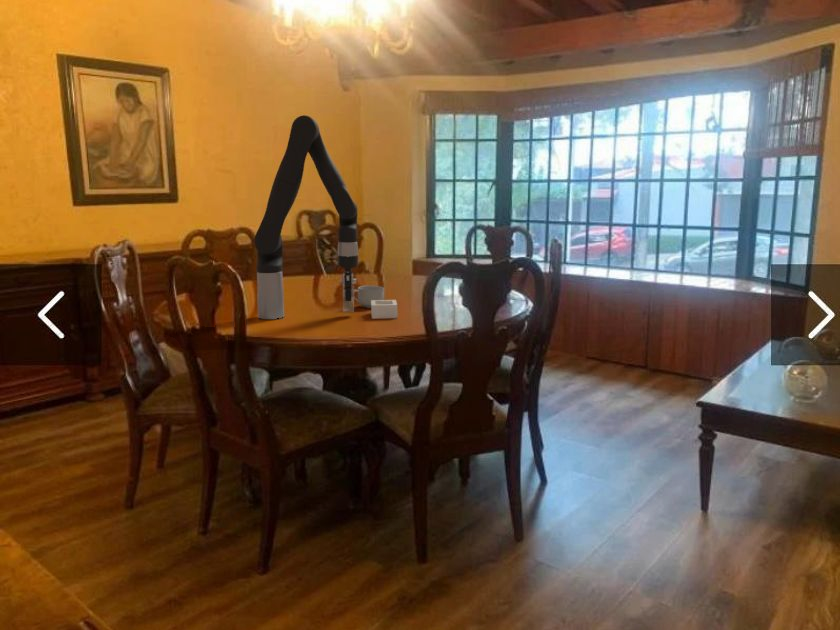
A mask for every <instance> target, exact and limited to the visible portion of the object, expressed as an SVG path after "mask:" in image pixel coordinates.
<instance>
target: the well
mask: <svg viewBox="0 0 840 630" xmlns="http://www.w3.org/2000/svg"><path fill="white" fill-rule="evenodd" d="M370 310H371V311H370V313H371V319H373V320H374V319H399V318H398V317H399V316H398V303H397V300H396V299H384V300H371V308H370Z"/></svg>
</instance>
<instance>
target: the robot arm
mask: <svg viewBox="0 0 840 630" xmlns="http://www.w3.org/2000/svg"><path fill="white" fill-rule="evenodd" d="M308 154H309V156H310V157H311V159H312V162H313V164H314V166H315V168H316V171H317V175H318V177H319V179H320V180H321V182H322V184H323V186H324V188H325V190H326V192H327V194H328V195H329V197H330V198H331V200H332V203H333V205H334V209H336V212H337V214H338V222H339V223H338V226H339V227H338V230H337V236H338V237H337V242H338V243H337V267H338V268H342V269H344V271H342V279H343V283H344V285H345V288H344V290H345V300H346V301H351V290H352V288H351V285H352V284H353V279H354V271H352V269H353V268H358V267H359V246H358V245H359V244H358V229H357V228H358V227H357V226H358V205H357V204H356V201H354V200H353V198H352V197H351V194H350V193H349V191H348V189H347V185H346V183H345V182H344V181H345V180H344V179H343V177H342V175H341V174H340V172H339V170H338V168H337V166H336V165H335V163H334V161H333V160H332V158H331V156H330V154H329V152H328V150H327V148H326V146H325V143H324V141H323V138H322V135H321V132H320V127H319V124H318V122H317V121H316V120H315V119H314V118H313V117H311V116H309V115H306V114H305V115H299V116H297V117H296V118H295V119H294V120H293V122H292V124H291V129H290V132H289V138H288V142H287V146H286V149H285V152H284V155H283V157H282V160H281V161H280V164H279V166H278V170H277V171H276V174H275V177H274V180H273V182H272V186H271V190H270V193H269V197H268V200H267V205H266V209H265V212H264V215H263V217H262V220H261V222H260V225H259V226H258V229H257V231H256V233H255V235H254V237H253V243H254V244H253V245H254V247H255V250H257V262H256V279H257V281H256V283H257V292H256V293H257V294H256V296H257V297H256V301H257V304H256V305H257V319H258V318H261V319H260V320H278V319H277V318H279V319H283V318H284V317H285V301H284V300H285V299H284V280H283V279H284V278H283V277H284V276H283V262H284V259H283V258H284V257H283V256H284V255H283V254H284V253H283V238H282V229H283V226H284V223H285V221H286V218H287V217H288V214H289V213H290V211H291V209H292V207H293V205H294V203H295V202H296V200H297V199H296V198H297V196H298V194H299V190H300V187H301V185H302V182H303V181H302V180H303V175H304V170H305V169H304V168H305V162H306V159H307V156H308ZM346 285H350V287H346ZM282 317H283V318H282Z"/></svg>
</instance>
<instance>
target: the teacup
mask: <svg viewBox="0 0 840 630" xmlns="http://www.w3.org/2000/svg"><path fill="white" fill-rule="evenodd" d="M355 293H357V298H356V297H355V295H354V301H356V302H357V303H358V304H359V305H360V306H362V307H363V308H366V309H371V300H385V299H384V297H385V287H383V286H379V285H361V286H358V287H357V289H355V288H354V294H355Z"/></svg>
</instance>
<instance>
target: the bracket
mask: <svg viewBox="0 0 840 630" xmlns="http://www.w3.org/2000/svg"><path fill="white" fill-rule="evenodd" d="M339 285H342V312H343V313H354V311H355V300H354V296H355V293H354V290H355V288H354V286H355V285H357V278H353V284H352V285H351V288H352V290H351V301H346V300H345V290H344V288H345V285H344V283H343V278H339ZM346 287H350V285H346Z"/></svg>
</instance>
